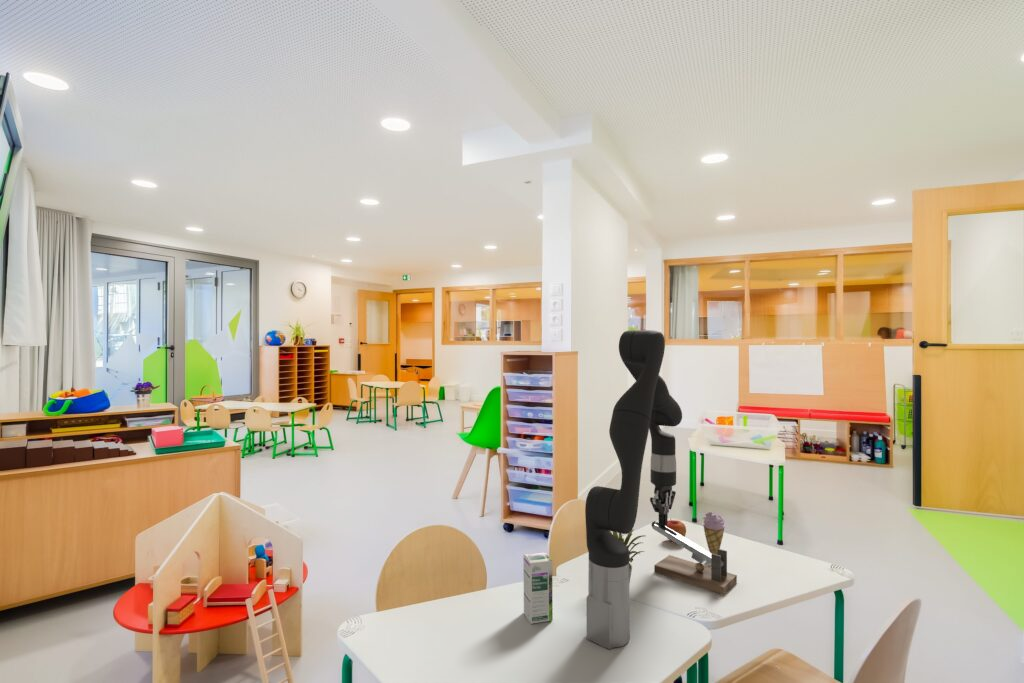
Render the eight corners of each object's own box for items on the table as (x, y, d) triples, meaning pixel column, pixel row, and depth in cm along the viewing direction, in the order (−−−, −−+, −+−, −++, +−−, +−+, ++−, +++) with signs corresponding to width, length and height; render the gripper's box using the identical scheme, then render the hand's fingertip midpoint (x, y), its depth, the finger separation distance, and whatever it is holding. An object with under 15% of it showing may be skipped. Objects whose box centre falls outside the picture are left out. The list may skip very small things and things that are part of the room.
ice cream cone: (697, 556, 155) (697, 508, 155) (712, 552, 157) (711, 506, 158) (714, 564, 149) (714, 515, 149) (729, 560, 151) (728, 512, 152)
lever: (718, 574, 134) (721, 563, 133) (647, 530, 149) (650, 520, 148) (722, 570, 136) (725, 559, 135) (652, 528, 151) (655, 518, 150)
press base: (723, 594, 129) (723, 560, 130) (654, 571, 143) (654, 541, 143) (736, 582, 137) (736, 550, 137) (669, 561, 150) (669, 532, 151)
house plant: (661, 595, 129) (661, 533, 129) (620, 607, 123) (620, 542, 123) (625, 573, 142) (625, 517, 142) (587, 583, 135) (587, 524, 136)
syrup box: (530, 625, 114) (530, 562, 115) (522, 612, 120) (523, 553, 120) (552, 621, 116) (553, 560, 116) (544, 609, 121) (544, 550, 122)
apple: (690, 544, 164) (690, 521, 164) (670, 546, 162) (670, 522, 163) (678, 536, 171) (678, 514, 171) (659, 538, 170) (659, 515, 170)
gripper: (665, 474, 140) (664, 534, 140) (684, 466, 150) (684, 522, 149) (641, 469, 145) (641, 527, 145) (661, 462, 155) (661, 516, 154)
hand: (663, 525), depth 147 cm, fingers closed
